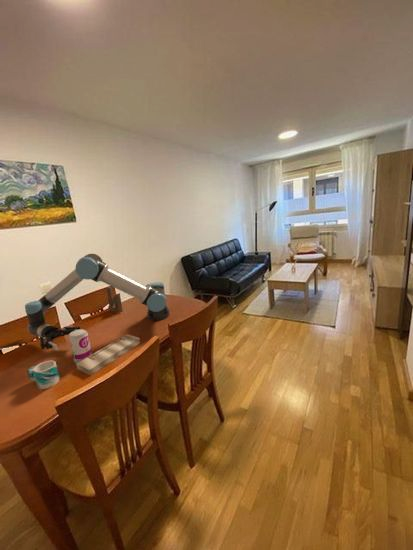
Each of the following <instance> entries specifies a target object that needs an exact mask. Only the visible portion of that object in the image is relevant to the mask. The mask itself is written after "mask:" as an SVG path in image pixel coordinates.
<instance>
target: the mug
mask: <svg viewBox="0 0 413 550" xmlns="http://www.w3.org/2000/svg"><path fill="white" fill-rule="evenodd" d="M26 370H27V374H28V377H29V380H30V381H35V383H36V385H37V388H38V389H39V390H46V388H47V389H49V387H50V388H52V387H54V386H56V385H57V384H58V383H59V382H60V380H61V377H60V375H59V371H58V366H57V363H56V361H54V360H51V359H50V360H45V361H44V362H40V363H38V364H37V365H35V366H33V365H32V366H31V367H29V368H28V369H26ZM51 386H52V387H51Z"/></svg>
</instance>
